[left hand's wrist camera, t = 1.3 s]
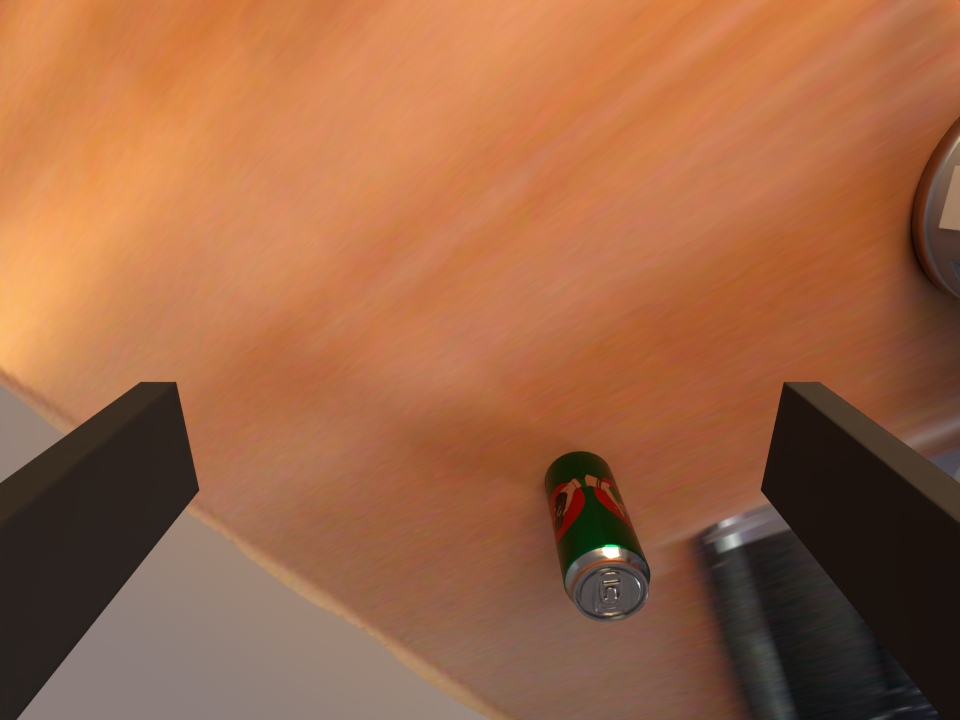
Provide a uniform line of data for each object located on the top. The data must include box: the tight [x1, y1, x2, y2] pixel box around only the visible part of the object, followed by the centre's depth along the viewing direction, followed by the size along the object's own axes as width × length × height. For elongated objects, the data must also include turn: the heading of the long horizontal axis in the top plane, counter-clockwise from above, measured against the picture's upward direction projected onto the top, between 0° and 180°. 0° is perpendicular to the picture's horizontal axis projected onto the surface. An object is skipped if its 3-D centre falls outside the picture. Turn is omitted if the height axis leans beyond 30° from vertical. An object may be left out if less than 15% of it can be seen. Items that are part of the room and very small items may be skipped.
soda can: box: [545, 451, 650, 622], centre depth 38 cm, size 5×5×12 cm
